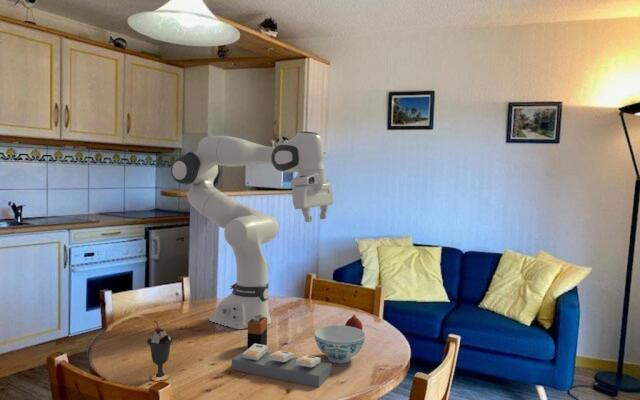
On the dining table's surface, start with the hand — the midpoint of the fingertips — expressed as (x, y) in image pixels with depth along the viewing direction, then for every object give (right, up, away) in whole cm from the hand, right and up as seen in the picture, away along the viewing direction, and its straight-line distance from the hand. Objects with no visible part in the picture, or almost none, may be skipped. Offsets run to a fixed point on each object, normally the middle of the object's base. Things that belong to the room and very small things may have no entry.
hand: (316, 220), depth 164 cm
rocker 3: (-2, -37, -34) cm, 50 cm away
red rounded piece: (+12, -39, -2) cm, 41 cm away
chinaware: (+7, -40, -20) cm, 45 cm away
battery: (-18, -39, -13) cm, 45 cm away
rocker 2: (-9, -36, -31) cm, 48 cm away
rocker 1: (-17, -36, -28) cm, 48 cm away
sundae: (-41, -40, -36) cm, 67 cm away
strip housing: (-9, -40, -30) cm, 51 cm away
